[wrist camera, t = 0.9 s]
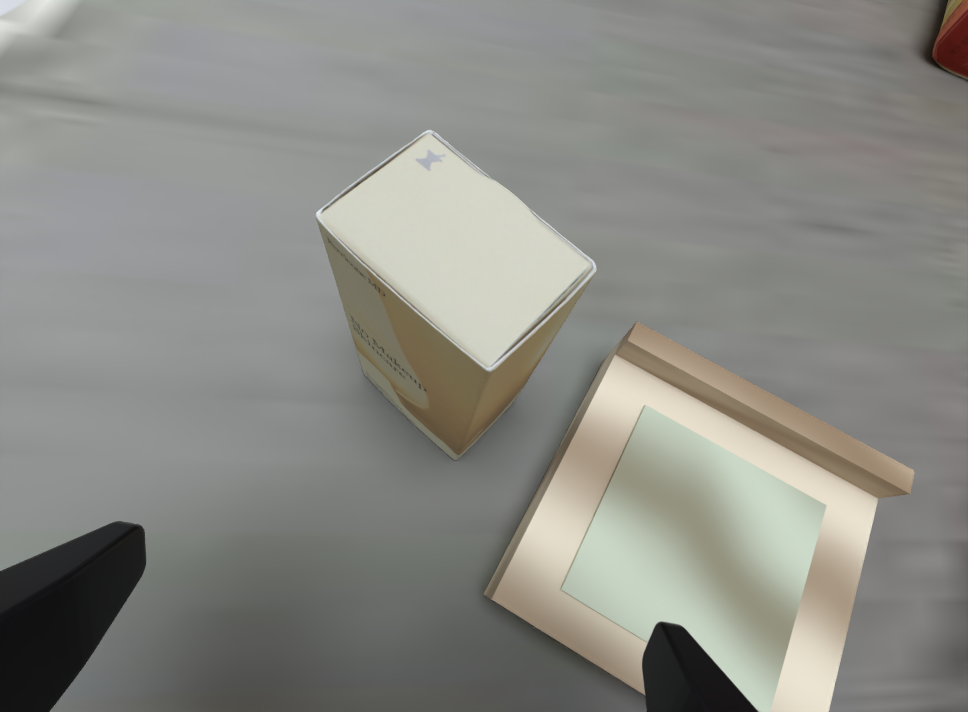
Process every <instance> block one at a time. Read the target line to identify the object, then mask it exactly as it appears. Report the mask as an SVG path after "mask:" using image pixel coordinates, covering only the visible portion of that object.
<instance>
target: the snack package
mask: <svg viewBox="0 0 968 712" xmlns="http://www.w3.org/2000/svg"><path fill="white" fill-rule="evenodd" d="M932 56H933V59H934V61H935V62H936V63H937V64H938V65H939V66H940V67H942V68H943V69H945V70H947V71H949V72H950V73H952V74H955V75H957V76H960V77H962V78H964V79H967V80H968V0H948V3H947V7H946V11H945V15H944V19H943V23H942V26H941V29H940V32H939V34H938V36H937V39H936V41H935V44H934V47H933V53H932Z"/></svg>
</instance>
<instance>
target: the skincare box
mask: <svg viewBox="0 0 968 712" xmlns="http://www.w3.org/2000/svg"><path fill="white" fill-rule="evenodd" d="M316 220H317V223H318V225H319V229H320V232H321V235H322V238H323V241H324V244H325V248H326V251H327V254H328V258H329V261H330V264H331V267H332V271H333V274H334V277H335V280H336V284H337V287H338V290H339V293H340V297H341V300H342V303H343V307H344V310H345V314H346V317H347V320H348V323H349V327H350V330H351V333H352V337H353V340H354V343H355V346H356V350H357V354H358V357H359V360H360V363H361V367H362V370H363V373H364V375H365V376H366V377H367V378H368V379H369V380H370V381H371V382H372V383H373V384H374V385H375V386H376V388H377V389H378V390H379V391H380V392H381V393H382V394H383V395H384V396H385V397H386V398H387V399H388V400H389V401H390V402H391V403H392V404H393V405H394V406H395V407H396V408H397V409H398V410H399V411H400V412H402V413H403V414H404V415H405V416H406V417H407V418H408V419H409V420H410V421H411V422H412V423H413V424H414V425H415V426H416V427H417V428H418V429H420V430H421V431H422V432H423V433H424V434H425V435H426V436H427V437H429V438H430V439H431V440H432V441H433V442H434V443H435V444H436V445H437V446H439V447H440V448H441V449H442V450H443V451H444V452H445V453H446V454H448V455H449V456H450V457H451V458H452V459H453V460H455V461H457V460H458V459H460V458H461V456H462V455H464V454H465V453H466V452H467V451H468V450H469V449H470V448H471V447H472V446H473V445H474V444H475V443H476V442H477V441H478V440H479V438H480V437H481V436H482V435H483V434H484V433H485V432H486V431H487V430H488V429H489V428H490V427H491V426H492V425H493V424H494V423H495V422H496V421H497V420H498V419H499V418H500V417H501V416H502V415H503V413H504V412H505V411H506V410H507V409H508V408H509V407H510V406H511V405H512V404H513V403H514V401H515V400H516V398H517V396H518V395H519V393H520V392H521V390H522V389H523V387H524V386H525V384H526V383H527V381H528V379H529V377H530V376H531V374H532V372H533V371H534V369H535V368H536V366H537V365H538V363H539V361H540V360H541V358H542V357H543V355H544V354H545V352H546V350H547V349H548V347H549V345H550V344H551V342H552V341H553V339H554V337H555V336H556V334H557V333H558V331H559V330H560V328H561V326H562V325H563V323H564V322H565V320H566V318H567V317H568V315H569V314H570V312H571V310H572V309H573V307H574V306H575V304H576V302H577V301H578V299H579V298H580V296H581V295H582V293H583V291H584V290H585V288H586V287H587V285H588V284H589V282H590V280H591V279H592V277H593V276H594V275H595V273H596V270H597V267H596V265H595V263H594V261H593V260H591V259H590V258H589V257H588V256H587V255H585V254H584V253H583V252H581V251H580V250H579V249H578V248H576V247H575V246H574V245H573V244H572V243H571V242H569V241H568V240H567V239H566V238H564V237H563V236H562V235H561V234H559V233H558V232H557V231H556V230H555V229H554V228H552V227H551V226H550V225H549V224H547V223H546V222H545V221H543V220H542V219H541V218H540V217H539V216H537V215H536V214H535V213H534V212H533V211H532V210H531V209H529V208H528V207H527V206H526V205H525V204H524V203H523V202H522V201H521V200H520V199H519V198H517V197H516V196H515V195H514V194H513V193H511V192H510V191H509V190H508V189H506V188H505V187H503V186H502V185H501V184H499V183H498V182H496V181H495V180H493V179H492V178H491V177H489V176H488V175H487V174H485V173H484V172H483V171H482V170H481V169H479V168H478V167H477V166H476V165H474V164H473V163H472V162H471V161H469V160H468V159H467V158H466V157H464V156H463V155H462V154H461V153H459V152H458V151H457V150H456V149H455V148H453V147H452V146H451V145H450V144H448V143H447V142H446V141H445V140H443V139H442V138H441V137H440V136H439V135H438V134H437V133H435V132H434V131H432V130H427V131H425V132H424V133H422V134H421V135H420V136H418V137H417V138H416V139H414V140H413V141H412V142H411V143H409V144H407V145H406V146H404V147H402V148H401V149H400V150H399V151H397V152H396V153H394V154H393V155H391V156H390V157H388V158H387V159H386V160H384V161H383V162H382V163H380V164H379V165H378V166H376V167H375V168H373V169H372V170H371V171H369V172H368V173H366V174H365V175H363V176H362V177H361V178H359V179H358V180H357V181H355V182H354V183H353V184H351V185H350V186H348V187H347V188H346V189H345V190H343V191H342V192H341V193H339V194H338V195H337V196H336V197H335V198H334V199H333V200H331V201H330V202H329V203H328V204H326V205H325V206H323V207H322V208H321V209H319V210H318V211H317V212H316Z"/></svg>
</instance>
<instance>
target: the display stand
mask: <svg viewBox="0 0 968 712" xmlns="http://www.w3.org/2000/svg"><path fill="white" fill-rule="evenodd" d="M914 472H915V471H914V470H912V469H910V468H908V467H906V466H904V465H903V464H901V463H899V462H897V461H895V460H893V459H891V458H890V457H888V456H886V455H884V454H882V453H880V452H878V451H877V450H875V449H873V448H871V447H869V446H867V445H865V444H864V443H862V442H860V441H858V440H856V439H854V438H852V437H851V436H849V435H847V434H845V433H843V432H841V431H839V430H838V429H836V428H834V427H832V426H830V425H828V424H826V423H825V422H823V421H821V420H819V419H817V418H815V417H813V416H811V415H810V414H808V413H806V412H804V411H802V410H800V409H798V408H797V407H795V406H793V405H791V404H789V403H787V402H785V401H784V400H782V399H780V398H778V397H776V396H774V395H772V394H771V393H769V392H767V391H765V390H763V389H761V388H759V387H758V386H756V385H754V384H752V383H750V382H748V381H746V380H745V379H743V378H741V377H739V376H737V375H735V374H733V373H731V372H730V371H728V370H726V369H724V368H722V367H720V366H718V365H717V364H715V363H713V362H711V361H709V360H707V359H705V358H704V357H702V356H700V355H698V354H696V353H694V352H692V351H691V350H689V349H687V348H685V347H683V346H681V345H679V344H678V343H676V342H674V341H672V340H670V339H668V338H666V337H665V336H663V335H661V334H659V333H657V332H655V331H653V330H651V329H650V328H648V327H646V326H644V325H642V324H640V323H638V322H636V323H635V324H634V326H633V327H632V328H631V329H630V330H629V331H628V333H627V334H626V335H625V336H624V337H623V338H622V340H621V341H620V342H619V343H618V344H617V346H616V347H615V348H614V349H613V350H612V351H611V353H610V354H609V355H608V356H607V357H606V358H605V360H604V361H603V362H602V364H601V366H600V368H599V370H598V372H597V374H596V376H595V378H594V380H593V382H592V384H591V386H590V388H589V390H588V392H587V394H586V395H585V397H584V399H583V401H582V403H581V405H580V407H579V409H578V411H577V413H576V415H575V417H574V419H573V421H572V423H571V425H570V427H569V429H568V431H567V433H566V434H565V436H564V438H563V440H562V442H561V444H560V446H559V448H558V450H557V452H556V454H555V456H554V458H553V460H552V462H551V464H550V466H549V468H548V470H547V471H546V473H545V475H544V477H543V479H542V481H541V483H540V485H539V487H538V489H537V491H536V493H535V495H534V497H533V499H532V501H531V503H530V505H529V507H528V509H527V510H526V512H525V514H524V516H523V518H522V520H521V522H520V524H519V526H518V528H517V530H516V532H515V534H514V536H513V538H512V540H511V542H510V544H509V546H508V547H507V549H506V551H505V553H504V555H503V557H502V559H501V561H500V563H499V565H498V567H497V569H496V571H495V573H494V575H493V577H492V579H491V581H490V583H489V585H488V586H487V588H486V590H485V592H484V594H483V595H485V596H487V597H488V598H490V599H491V600H493V601H495V602H496V603H498V604H499V605H501V606H503V607H504V608H506V609H507V610H509V611H511V612H512V613H514V614H515V615H517V616H519V617H520V618H522V619H523V620H525V621H527V622H528V623H530V624H531V625H533V626H535V627H536V628H538V629H539V630H541V631H543V632H544V633H546V634H547V635H549V636H551V637H552V638H554V639H555V640H557V641H559V642H560V643H562V644H563V645H565V646H567V647H568V648H570V649H571V650H573V651H575V652H576V653H578V654H579V655H581V656H583V657H584V658H586V659H587V660H589V661H591V662H592V663H594V664H595V665H597V666H599V667H600V668H602V669H603V670H605V671H607V672H608V673H610V674H611V675H613V676H615V677H616V678H618V679H620V680H621V681H623V682H624V683H626V684H628V685H629V686H631V687H632V688H634V689H636V690H637V691H639V692H640V693H642V694H644V695H645V690H644V681H643V673H642V658H643V653H644V651H645V648H646V646H647V643H648V641H649V639H650V636H651V634H652V631H653V629H654V627H655V625H656V624H657V623H658V622H660V621H663V622H669V623H674V624H679V625H681V626H683V627H684V628H685V629H686V630H687V631H688V632H689V633H690V634H691V636H692V637H693V638H694V639H695V640H696V641H697V642H698V644H699V645H700V646H701V647H702V648H703V649H704V650H705V651H706V653H707V654H708V655H709V656H710V657H711V658H712V659H713V661H714V662H715V663H716V664H717V665H718V666H719V667H720V668H721V670H722V671H723V672H724V673H725V674H726V675H727V676H728V678H729V679H730V680H731V681H732V682H733V683H734V684H735V685H736V687H737V688H738V689H739V690H740V691H741V692H742V693H743V695H744V696H745V697H746V698H747V699H748V700H749V701H750V702H751V704H752V705H753V706H754V707H755V708H756V709H757V710H758V712H829V707H830V703H831V699H832V695H833V690H834V686H835V682H836V677H837V673H838V669H839V665H840V660H841V656H842V652H843V647H844V643H845V639H846V635H847V630H848V626H849V622H850V617H851V613H852V609H853V605H854V600H855V596H856V592H857V587H858V583H859V579H860V575H861V570H862V566H863V562H864V557H865V553H866V549H867V544H868V540H869V536H870V532H871V527H872V523H873V519H874V514H875V510H876V506H877V502H878V498H885V497H892V496H899V495H906V494H910V492H911V487H912V482H913V477H914Z"/></svg>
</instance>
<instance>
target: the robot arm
mask: <svg viewBox="0 0 968 712" xmlns="http://www.w3.org/2000/svg"><path fill="white" fill-rule="evenodd" d="M145 566H146V548H145V532H144V529H143V527H142V526H141V525H139V524H133V523H128V522H122V521H117V522H113V523H110V524H108V525H106V526H103V527H101V528H99V529H97V530H94V531H92V532H90V533H87V534H85V535H83V536H80V537H78V538H76V539H73V540H71V541H69V542H67V543H64V544H62V545H60V546H57V547H55V548H53V549H50V550H48V551H46V552H43V553H41V554H39V555H36V556H34V557H32V558H30V559H27V560H25V561H23V562H20V563H18V564H16V565H13V566H11V567H9V568H6V569H4V570H2V571H0V712H50V710H51V709H52V708H53V706H54V705H55V704H56V702H57V701H58V700H59V699H60V697H61V696H62V695H63V693H64V692H65V691H66V689H67V688H68V687H69V686H70V684H71V683H72V682H73V680H74V679H75V678H76V676H77V675H78V674H79V672H80V671H81V669H82V668H83V667H84V665H85V664H86V662H87V661H88V659H89V658H90V656H91V655H92V653H93V652H94V650H95V649H96V647H97V646H98V644H99V643H100V641H101V640H102V638H103V636H104V635H105V633H106V632H107V630H108V629H109V627H110V625H111V624H112V622H113V621H114V619H115V618H116V616H117V614H118V613H119V611H120V610H121V608H122V607H123V605H124V603H125V602H126V600H127V599H128V597H129V596H130V594H131V592H132V591H133V589H134V588H135V586H136V585H137V583H138V581H139V580H140V578H141V577H142V575H143V572H144V570H145ZM642 673H643V681H644V690H645V698H646V707H647V712H758V710H757V709H756V708H755V707H754V706H753V705H752V704H751V702H750V701H749V700H748V699H747V698H746V697H745V696H744V695H743V693H742V692H741V691H740V690H739V689H738V688H737V687H736V685H735V684H734V683H733V682H732V681H731V680H730V679H729V678H728V676H727V675H726V674H725V673H724V672H723V671H722V670H721V668H720V667H719V666H718V665H717V664H716V663H715V662H714V661H713V659H712V658H711V657H710V656H709V655H708V654H707V653H706V651H705V650H704V649H703V648H702V647H701V646H700V645H699V644H698V642H697V641H696V640H695V639H694V638H693V637H692V636H691V634H690V633H689V632H688V631H687V630H686V629H685V628H684V627H683V626H681V625H679V624H674V623H669V622H663V621H660V622H658V623H657V624H656V625H655V627H654V629H653V631H652V634H651V636H650V639H649V641H648V643H647V646H646V648H645V651H644V653H643V658H642Z"/></svg>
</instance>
